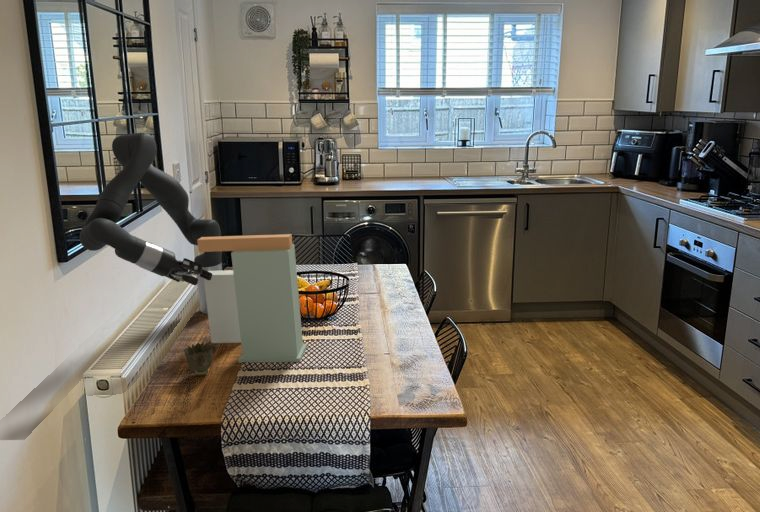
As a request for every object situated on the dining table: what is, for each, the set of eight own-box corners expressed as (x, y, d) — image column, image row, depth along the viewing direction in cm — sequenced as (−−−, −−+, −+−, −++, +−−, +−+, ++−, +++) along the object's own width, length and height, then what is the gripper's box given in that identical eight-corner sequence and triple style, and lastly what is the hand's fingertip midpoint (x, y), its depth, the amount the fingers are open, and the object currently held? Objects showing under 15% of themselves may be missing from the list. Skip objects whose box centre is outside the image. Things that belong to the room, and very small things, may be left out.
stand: (248, 347, 187) (237, 244, 179) (307, 346, 185) (298, 243, 178) (238, 362, 176) (225, 254, 168) (300, 361, 175) (290, 252, 167)
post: (216, 337, 197) (208, 270, 191) (247, 336, 196) (240, 269, 190) (211, 343, 192) (203, 275, 186) (242, 342, 191) (235, 274, 186)
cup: (220, 370, 172) (217, 343, 170) (205, 381, 165) (201, 354, 163) (198, 367, 174) (194, 341, 172) (182, 378, 168) (178, 351, 166)
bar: (203, 249, 176) (201, 237, 175) (292, 246, 174) (291, 234, 173) (198, 251, 173) (197, 239, 172) (290, 249, 171) (288, 236, 170)
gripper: (169, 241, 171) (219, 263, 181) (147, 252, 181) (195, 272, 191) (161, 265, 168) (212, 287, 178) (139, 275, 178) (189, 295, 188)
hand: (203, 279), depth 184 cm, fingers open, 8 cm apart
